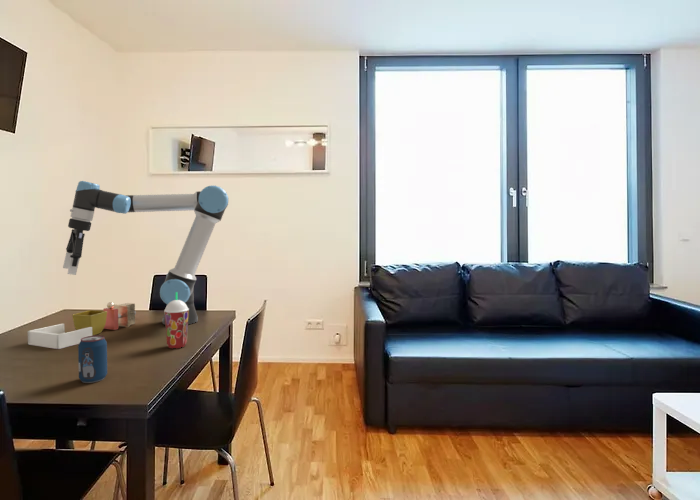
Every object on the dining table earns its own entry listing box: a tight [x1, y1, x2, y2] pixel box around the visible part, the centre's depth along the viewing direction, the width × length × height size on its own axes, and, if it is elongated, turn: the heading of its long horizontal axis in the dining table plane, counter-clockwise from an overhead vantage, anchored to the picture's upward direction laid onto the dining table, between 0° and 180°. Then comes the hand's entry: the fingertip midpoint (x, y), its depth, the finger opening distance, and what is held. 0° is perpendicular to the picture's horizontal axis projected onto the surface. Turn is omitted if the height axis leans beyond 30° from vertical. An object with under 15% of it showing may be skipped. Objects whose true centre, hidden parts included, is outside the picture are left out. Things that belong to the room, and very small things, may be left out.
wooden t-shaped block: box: [102, 301, 137, 331], centre depth 180 cm, size 9×13×11 cm
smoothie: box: [163, 292, 189, 349], centre depth 151 cm, size 8×8×20 cm
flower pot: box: [71, 309, 107, 336], centre depth 166 cm, size 9×9×9 cm
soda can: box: [77, 334, 108, 384], centre depth 117 cm, size 7×7×12 cm
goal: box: [27, 323, 92, 350], centre depth 155 cm, size 16×13×5 cm
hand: (69, 271), depth 165 cm, fingers open, 13 cm apart
